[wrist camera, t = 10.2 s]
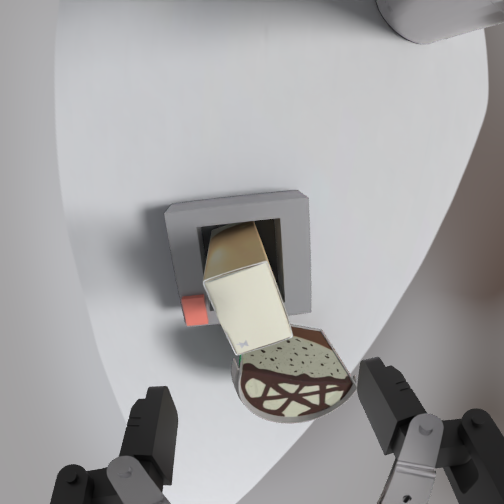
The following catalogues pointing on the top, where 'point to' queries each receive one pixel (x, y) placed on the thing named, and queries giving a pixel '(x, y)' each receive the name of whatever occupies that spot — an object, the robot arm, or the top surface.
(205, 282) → the skincare box
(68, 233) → the top surface
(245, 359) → the food container
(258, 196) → the socket block
